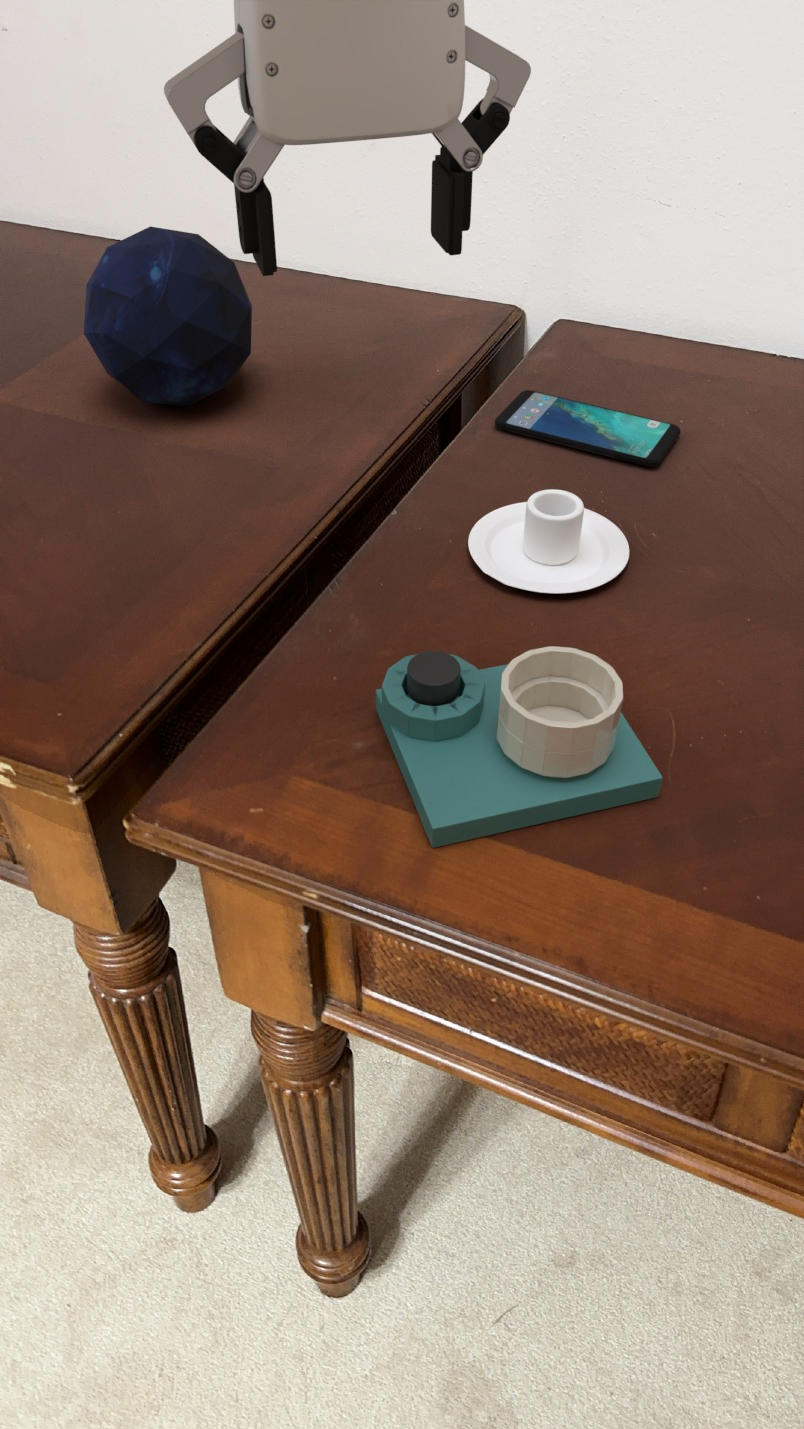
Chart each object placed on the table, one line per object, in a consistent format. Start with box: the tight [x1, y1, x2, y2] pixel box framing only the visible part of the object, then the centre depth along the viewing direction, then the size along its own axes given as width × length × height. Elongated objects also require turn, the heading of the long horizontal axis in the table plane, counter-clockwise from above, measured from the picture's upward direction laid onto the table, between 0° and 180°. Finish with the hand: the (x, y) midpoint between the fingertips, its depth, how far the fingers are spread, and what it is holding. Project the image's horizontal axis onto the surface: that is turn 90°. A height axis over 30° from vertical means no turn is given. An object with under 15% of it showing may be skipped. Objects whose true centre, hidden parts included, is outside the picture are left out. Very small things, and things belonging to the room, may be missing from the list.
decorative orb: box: [83, 225, 253, 407], centre depth 96 cm, size 14×15×15 cm
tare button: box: [407, 650, 461, 706], centre depth 66 cm, size 3×3×2 cm
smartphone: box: [494, 389, 681, 468], centre depth 96 cm, size 7×1×15 cm
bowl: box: [497, 645, 624, 778], centre depth 64 cm, size 7×7×4 cm
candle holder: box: [467, 488, 630, 595], centre depth 81 cm, size 12×12×4 cm
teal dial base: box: [375, 653, 664, 849], centre depth 67 cm, size 14×13×4 cm
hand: (356, 255), depth 57 cm, fingers open, 9 cm apart
